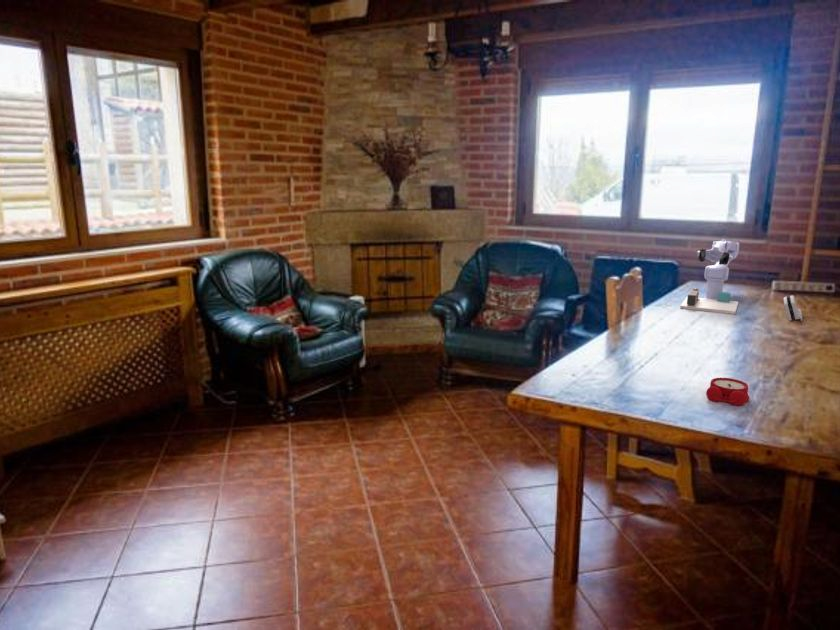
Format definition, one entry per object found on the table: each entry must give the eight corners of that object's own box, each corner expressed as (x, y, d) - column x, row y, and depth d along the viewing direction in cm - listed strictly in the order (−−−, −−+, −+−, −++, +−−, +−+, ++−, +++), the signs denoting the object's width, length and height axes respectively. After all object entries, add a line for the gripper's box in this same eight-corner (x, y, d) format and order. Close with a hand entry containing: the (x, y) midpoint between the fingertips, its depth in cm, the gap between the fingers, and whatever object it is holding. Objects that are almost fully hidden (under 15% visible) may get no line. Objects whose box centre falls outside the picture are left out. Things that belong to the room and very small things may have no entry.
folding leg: (691, 297, 284) (692, 288, 283) (698, 298, 282) (699, 288, 281) (686, 304, 270) (687, 294, 269) (694, 305, 268) (695, 294, 267)
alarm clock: (752, 381, 167) (749, 385, 154) (749, 403, 167) (745, 409, 155) (711, 374, 172) (705, 378, 160) (708, 396, 173) (701, 401, 160)
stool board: (686, 298, 289) (687, 288, 288) (738, 304, 279) (739, 293, 277) (680, 308, 270) (681, 296, 269) (735, 314, 259) (736, 302, 258)
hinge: (802, 321, 247) (796, 298, 246) (789, 324, 250) (783, 301, 249) (801, 313, 261) (796, 291, 260) (789, 316, 263) (783, 294, 263)
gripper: (701, 242, 281) (695, 249, 271) (735, 246, 273) (730, 254, 263) (698, 256, 284) (692, 264, 274) (732, 261, 276) (727, 270, 266)
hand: (710, 260), depth 269 cm, fingers open, 7 cm apart
